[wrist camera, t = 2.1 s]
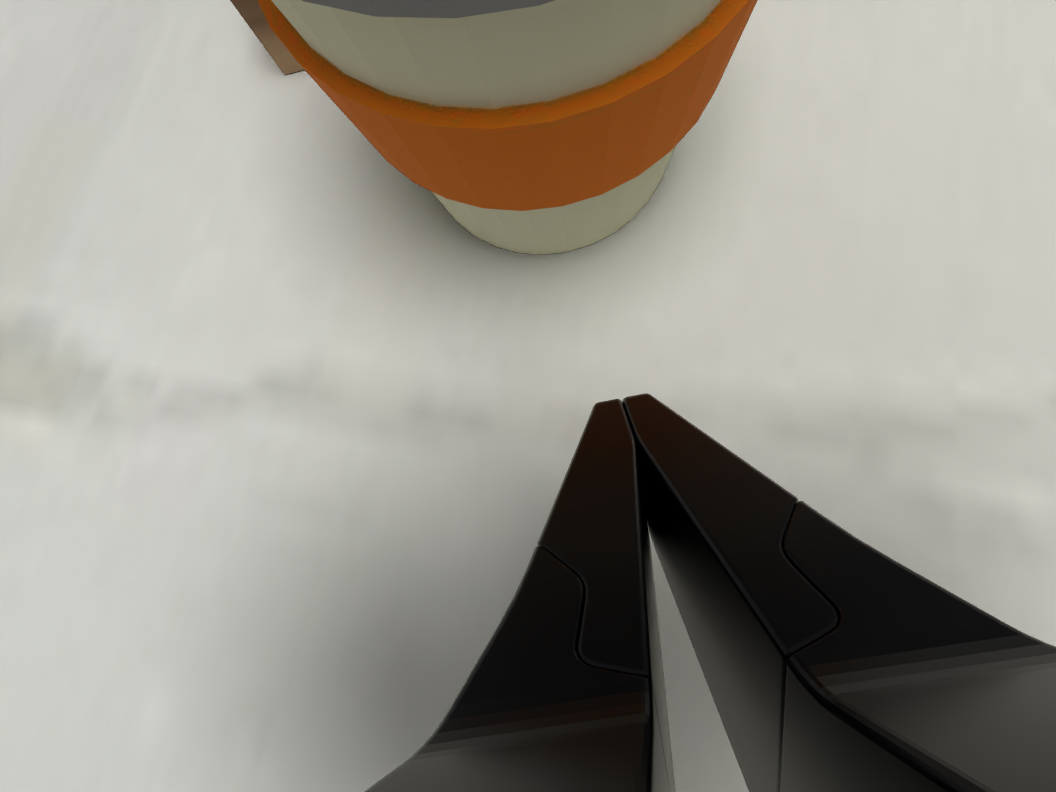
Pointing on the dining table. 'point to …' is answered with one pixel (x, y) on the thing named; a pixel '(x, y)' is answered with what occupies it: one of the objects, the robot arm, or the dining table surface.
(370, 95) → the reusable coffee cup
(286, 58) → the holder
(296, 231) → the dining table surface
